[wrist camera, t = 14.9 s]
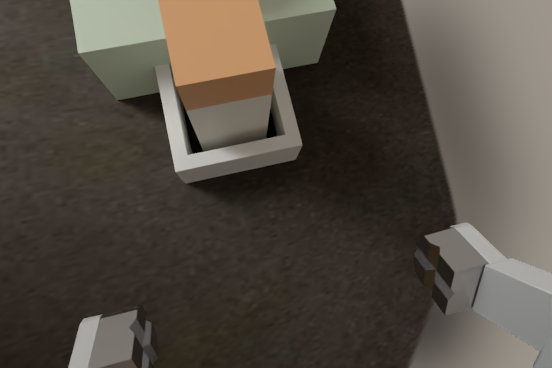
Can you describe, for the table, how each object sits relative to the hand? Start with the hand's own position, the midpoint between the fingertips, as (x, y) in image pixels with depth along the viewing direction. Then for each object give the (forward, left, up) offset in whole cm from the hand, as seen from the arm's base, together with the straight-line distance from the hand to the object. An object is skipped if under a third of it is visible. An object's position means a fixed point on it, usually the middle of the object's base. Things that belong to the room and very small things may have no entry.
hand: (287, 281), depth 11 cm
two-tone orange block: (+10, +6, -18) cm, 22 cm away
